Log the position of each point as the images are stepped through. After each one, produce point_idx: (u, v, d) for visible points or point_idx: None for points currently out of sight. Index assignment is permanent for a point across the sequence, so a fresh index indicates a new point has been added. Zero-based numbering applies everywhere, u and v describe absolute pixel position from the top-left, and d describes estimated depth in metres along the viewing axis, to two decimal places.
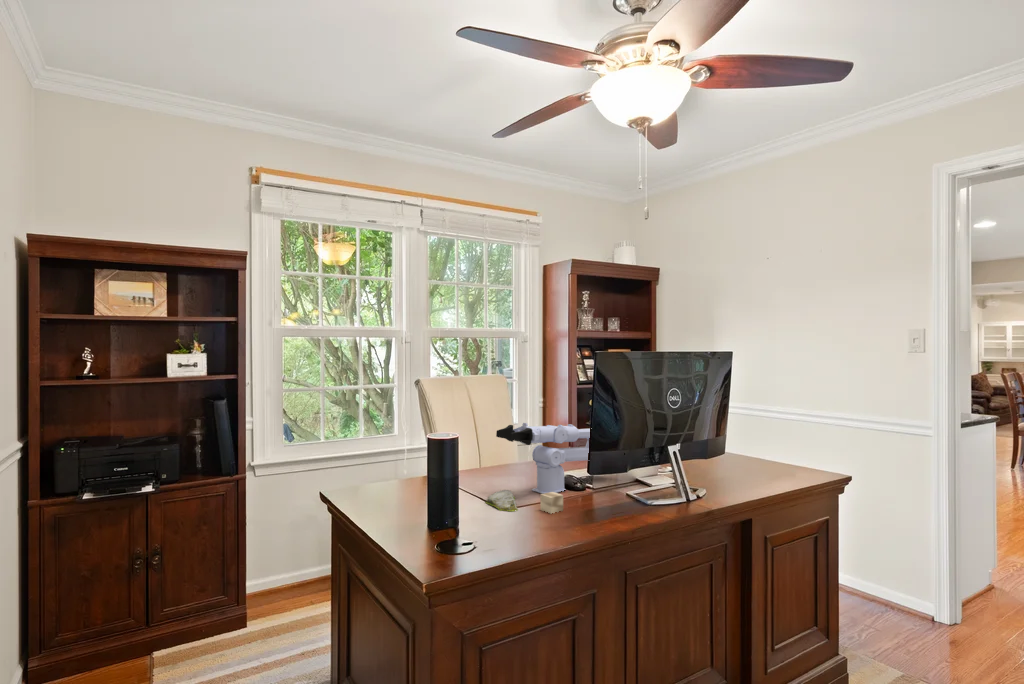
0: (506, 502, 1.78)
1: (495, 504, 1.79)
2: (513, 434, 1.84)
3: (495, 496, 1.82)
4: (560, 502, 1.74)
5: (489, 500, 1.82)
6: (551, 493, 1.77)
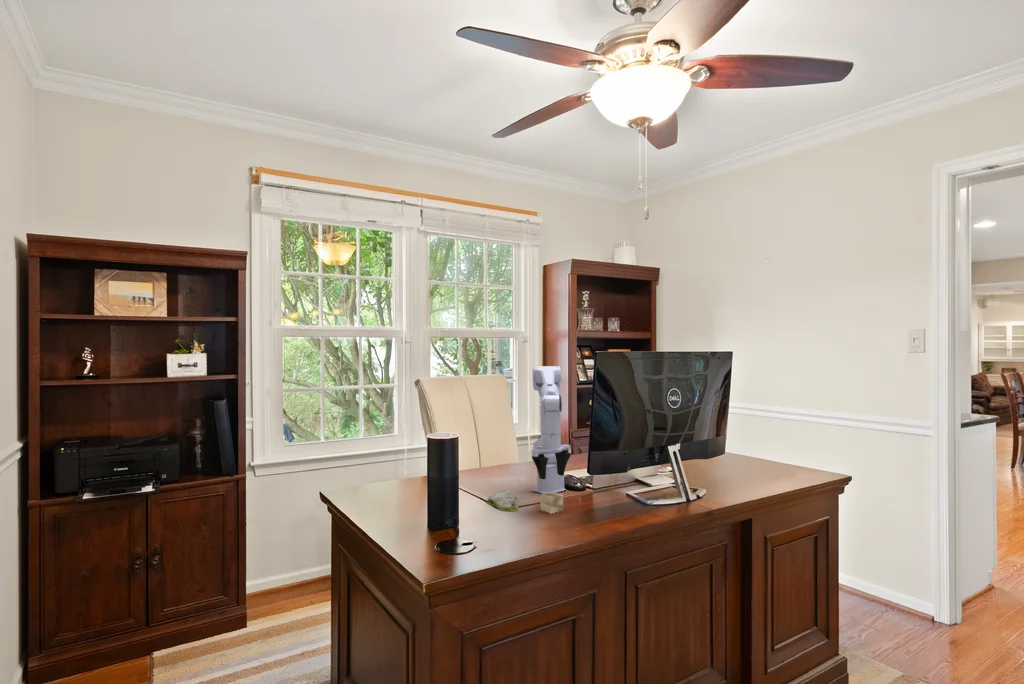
0: (507, 502, 1.78)
1: (496, 504, 1.79)
2: None
3: (496, 496, 1.82)
4: (560, 502, 1.74)
5: (490, 500, 1.83)
6: (551, 493, 1.77)
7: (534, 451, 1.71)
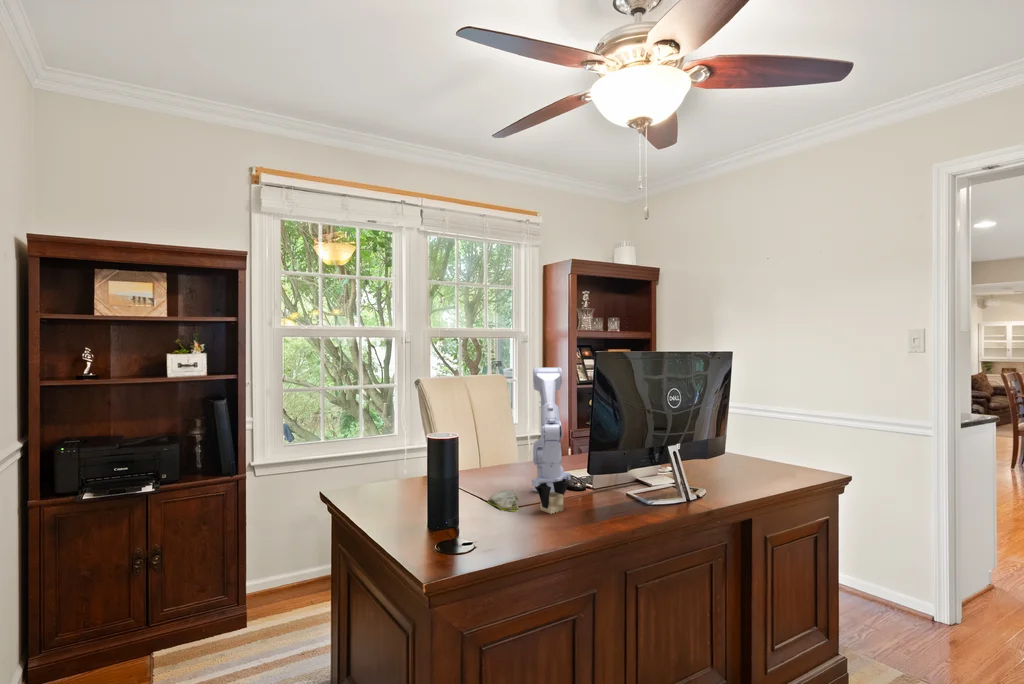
0: (507, 502, 1.78)
1: (497, 504, 1.79)
2: None
3: (497, 496, 1.82)
4: (560, 502, 1.74)
5: (491, 500, 1.83)
6: (551, 493, 1.77)
7: (534, 481, 1.71)
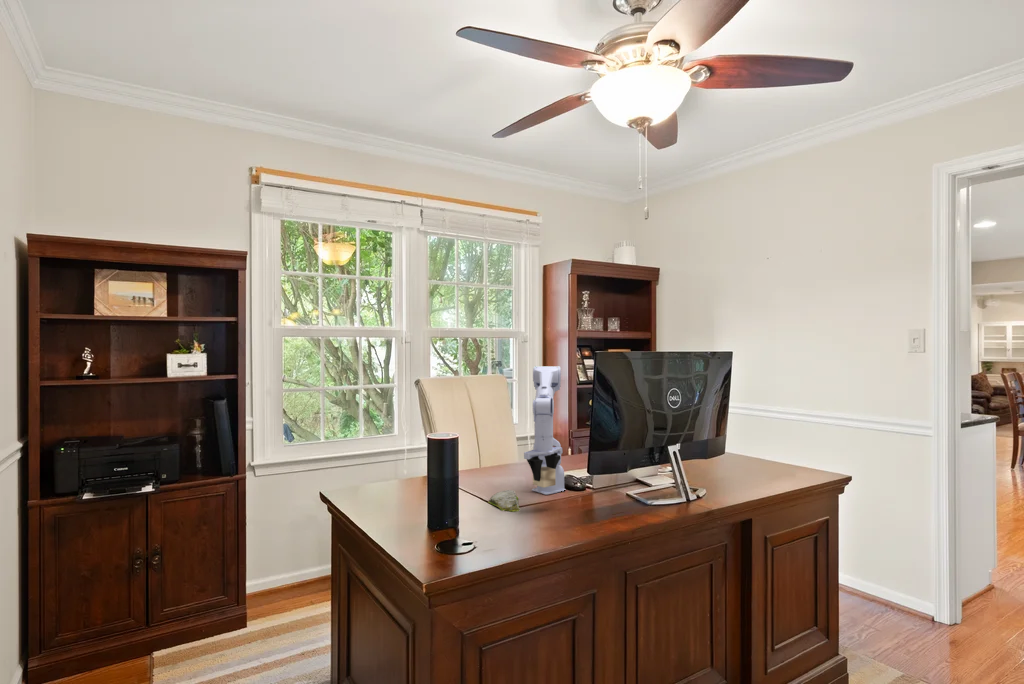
0: (508, 502, 1.78)
1: (497, 504, 1.79)
2: None
3: (498, 496, 1.82)
4: (552, 476, 1.76)
5: (492, 500, 1.83)
6: (543, 467, 1.78)
7: (526, 454, 1.72)
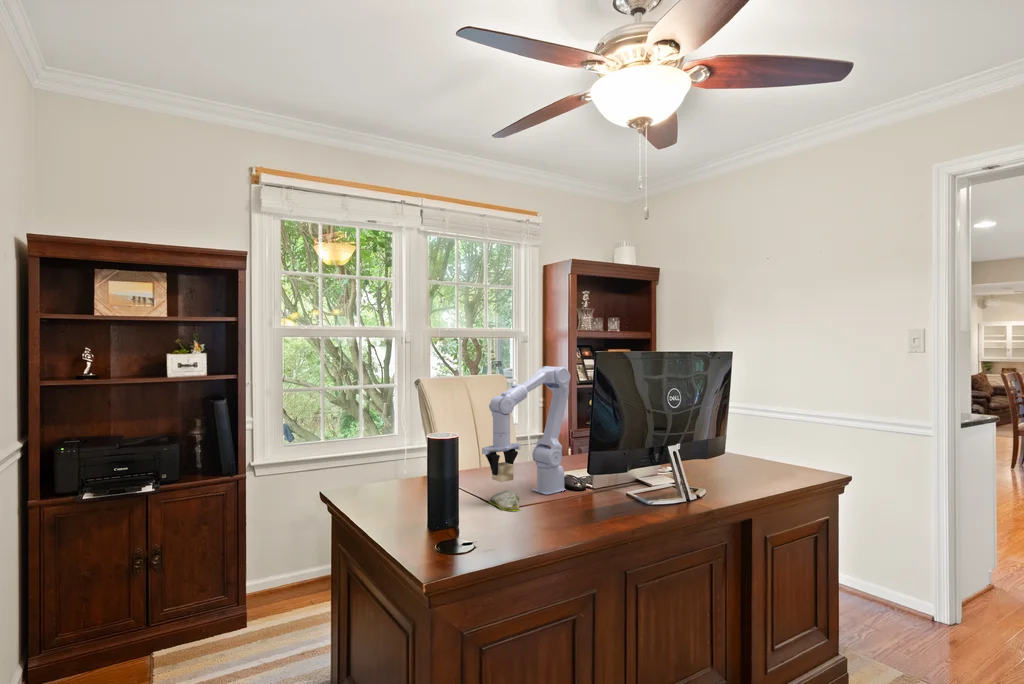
0: (508, 502, 1.78)
1: (498, 504, 1.79)
2: None
3: (498, 496, 1.82)
4: (510, 471, 1.84)
5: (492, 500, 1.83)
6: (502, 463, 1.87)
7: (484, 449, 1.81)
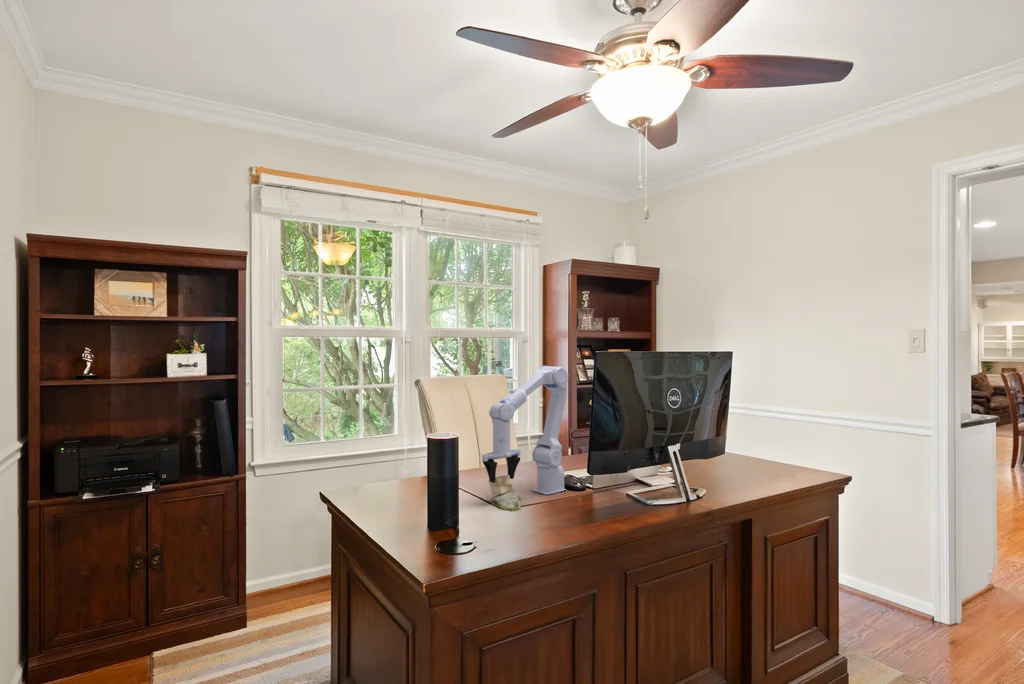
0: (510, 502, 1.78)
1: (499, 504, 1.79)
2: None
3: (500, 496, 1.82)
4: (508, 482, 1.85)
5: (494, 500, 1.83)
6: (498, 476, 1.88)
7: (484, 456, 1.81)
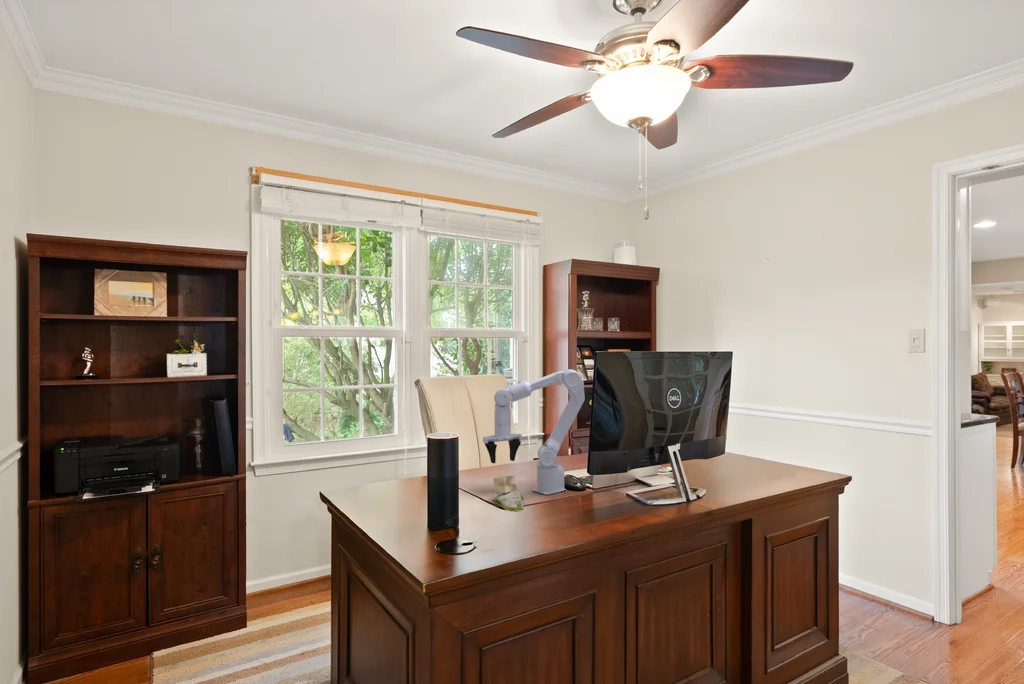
0: (513, 502, 1.78)
1: (502, 504, 1.79)
2: None
3: (502, 496, 1.82)
4: (512, 481, 1.86)
5: (496, 500, 1.83)
6: (503, 475, 1.88)
7: (484, 438, 1.95)
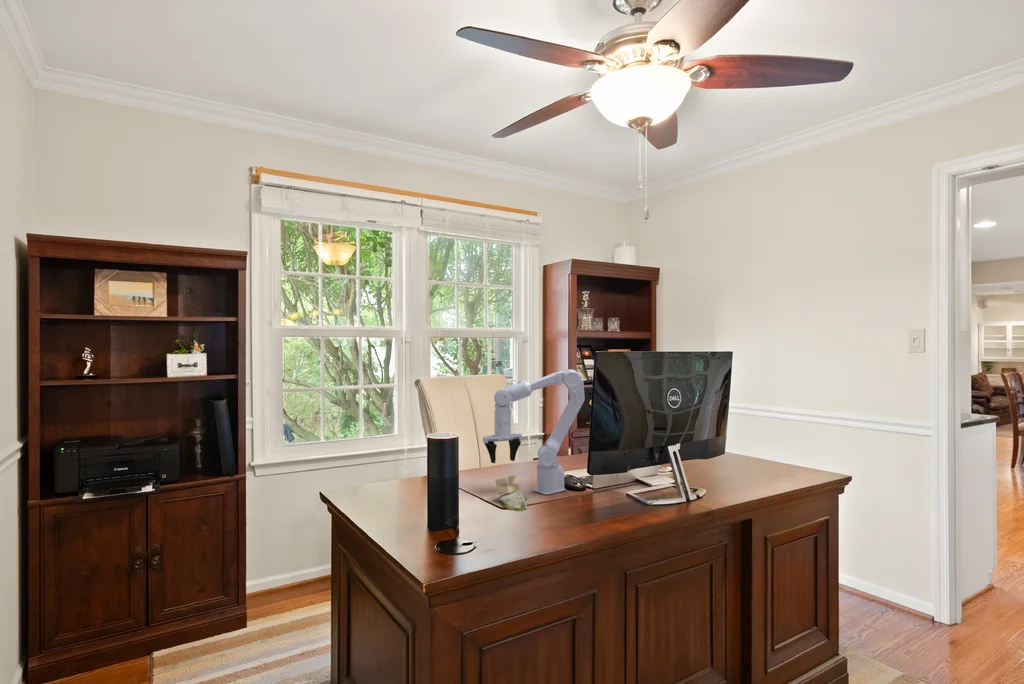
0: (516, 502, 1.78)
1: (506, 504, 1.79)
2: None
3: (506, 496, 1.82)
4: (514, 481, 1.86)
5: (500, 500, 1.83)
6: (505, 476, 1.89)
7: (484, 438, 1.95)
